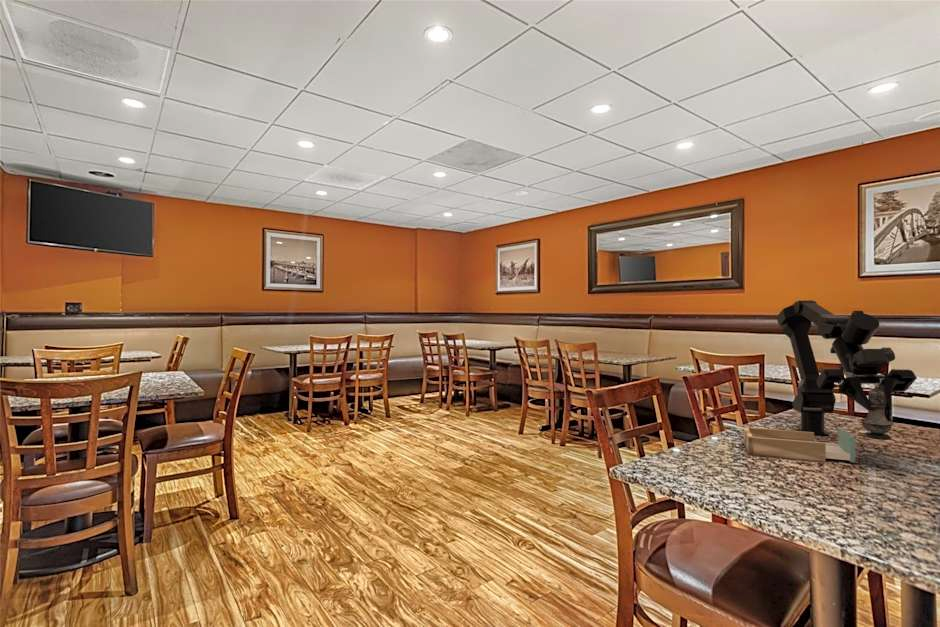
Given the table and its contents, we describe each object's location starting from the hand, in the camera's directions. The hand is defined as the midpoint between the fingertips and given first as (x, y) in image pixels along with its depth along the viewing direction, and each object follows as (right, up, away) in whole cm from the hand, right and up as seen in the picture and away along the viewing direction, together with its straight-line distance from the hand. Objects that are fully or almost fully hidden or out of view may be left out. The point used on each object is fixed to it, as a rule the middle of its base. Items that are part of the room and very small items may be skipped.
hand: (879, 409), depth 110 cm
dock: (-14, -14, +13) cm, 23 cm away
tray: (-9, -13, +10) cm, 19 cm away
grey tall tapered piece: (+1, -7, +1) cm, 7 cm away
